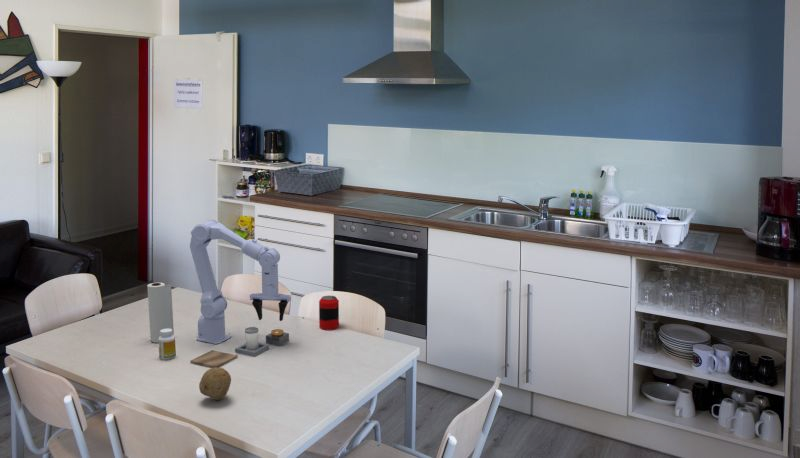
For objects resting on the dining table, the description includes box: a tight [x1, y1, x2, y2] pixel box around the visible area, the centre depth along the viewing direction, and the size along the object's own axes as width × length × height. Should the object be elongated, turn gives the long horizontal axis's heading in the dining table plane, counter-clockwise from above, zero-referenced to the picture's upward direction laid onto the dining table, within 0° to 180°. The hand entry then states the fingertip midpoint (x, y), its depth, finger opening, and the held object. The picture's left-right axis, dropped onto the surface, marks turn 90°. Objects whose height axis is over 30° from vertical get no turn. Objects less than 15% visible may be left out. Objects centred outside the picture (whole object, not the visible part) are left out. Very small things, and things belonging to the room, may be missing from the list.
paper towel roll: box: [146, 282, 175, 344], centre depth 250 cm, size 7×6×21 cm
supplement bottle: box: [158, 329, 177, 361], centre depth 236 cm, size 5×5×10 cm
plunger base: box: [265, 331, 290, 347], centre depth 251 cm, size 6×6×3 cm
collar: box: [234, 342, 270, 358], centre depth 243 cm, size 8×8×2 cm
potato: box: [198, 367, 232, 401], centre depth 203 cm, size 9×9×10 cm
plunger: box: [270, 328, 284, 336], centre depth 251 cm, size 4×4×3 cm
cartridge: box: [244, 326, 259, 351], centre depth 242 cm, size 5×5×8 cm
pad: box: [189, 350, 238, 369], centre depth 234 cm, size 11×11×1 cm
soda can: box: [318, 295, 340, 331], centre depth 268 cm, size 8×8×12 cm
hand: (270, 319), depth 248 cm, fingers open, 7 cm apart
